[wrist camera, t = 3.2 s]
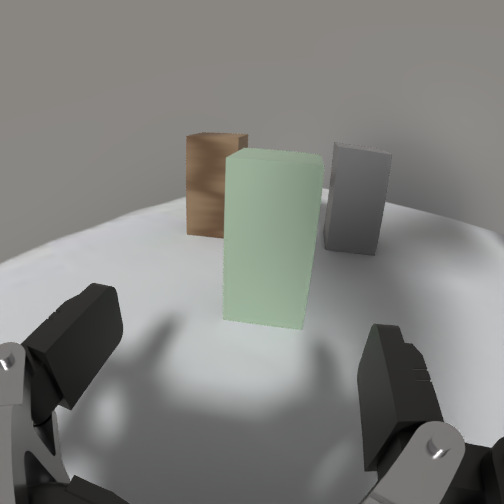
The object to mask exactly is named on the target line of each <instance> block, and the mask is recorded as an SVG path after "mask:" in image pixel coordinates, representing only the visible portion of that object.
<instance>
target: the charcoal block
mask: <svg viewBox="0 0 504 504" xmlns="http://www.w3.org/2000/svg"><path fill="white" fill-rule="evenodd" d="M391 159H392V154H390V153H387V152H385V151H383V150H381V149H377V148H371V147H365V146H358V145H351V144H343V143H337V142H334V150H333V159H332V169H331V179H330V187H329V195H328V203H327V211H326V219H325V226H324V238H325V246H326V250H333V251H341V252H350V253H358V254H367V255H375V252H376V248H377V243H378V238H379V233H380V228H381V222H382V217H383V211H384V206H385V200H386V193H387V187H388V181H389V174H390V167H391Z"/></svg>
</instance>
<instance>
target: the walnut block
mask: <svg viewBox="0 0 504 504" xmlns="http://www.w3.org/2000/svg"><path fill="white" fill-rule="evenodd" d="M247 147H248V134H230V133H198V134H193V135H189V136H187V139H186V210H187V235H197V236H206V237H215V238H224V210H225V173H226V157H228V156H230V155H232V154H234V153H235V152H237V151H239V150H241V149H243V148H247Z"/></svg>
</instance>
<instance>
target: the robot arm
mask: <svg viewBox="0 0 504 504" xmlns="http://www.w3.org/2000/svg"><path fill="white" fill-rule="evenodd" d="M122 335H123V323H122V318H121V313H120V307H119V302H118V296H117V292H116V289H115V288H114V287H112V286H107V285H102V284H97V283H92V284H90V285H89V286H88V287H87V288H86V289H85V290H84V291H82V292H81V293H80V294H79V295H77V296H75V297H73V298H71V299H69V300H67V301H65V302H64V303H63V304H62V305H61V306H60V307H59V308H58V309H57V310H56V312H53V313H52V314H51V315H50V316H49V319H46V320H45V321H44V322H43V323H42V324H41V325H40V326H39V327H38V328H37V329H36V330H35V331H34V332H33V333H32V334H31V335H30V336H29V337H28V338H27V339H26V340H25V341H24V342H23V343H22V344H18V343H14V342H9V343H4V344H1V345H0V504H129V503H128V502H126V501H125V500H123V499H122V498H120V497H119V496H117V495H116V494H115V493H113V492H111V491H109V490H106V489H104V488H102V487H99V486H97V485H95V484H93V483H90V482H88V481H86V480H84V479H82V478H80V477H78V476H76V475H74V476H73V478H72V480H71V481H70V478H69V476H68V474H67V472H66V470H65V468H64V465H63V461H62V455H61V448H60V441H59V433H58V423H57V415H56V412H55V410H54V409H55V408H56V407H57V405H60V406H63V407H65V408H67V409H69V410H72V408H73V407H74V405H75V404H76V403H77V401H78V400H79V398H80V397H81V395H82V394H83V393H84V391H85V390H86V388H87V387H88V385H89V384H90V383H91V381H92V380H93V378H94V377H95V376H96V374H97V373H98V372H99V370H100V369H101V367H102V366H103V365H104V363H105V362H106V360H107V359H108V358H109V356H110V355H111V354H112V352H113V351H114V350H115V348H116V347H117V346H118V344H119V343H120V341H121V338H122ZM430 380H431V378H430V375H429V373H428V371H427V367H426V364H425V361H424V358H423V355H422V354H421V353H420V352H419V351H418V350H417V349H416V347H415V346H414V345H413V344H410V343H404V340H403V337H402V334H401V331H400V328H399V327H398V326H393V325H380V324H373V326H372V327H371V330H370V333H369V336H368V339H367V342H366V345H365V348H364V351H363V354H362V357H361V360H360V363H359V368H358V375H357V383H358V392H359V402H360V413H361V424H362V437H363V452H364V470H365V471H377V473H378V481H377V482H376V484H375V485H374V486H373V487H372V489H371V490H370V491H369V492H368V493H367V495H366V496H365V497H364V498H363V499H362V501H361V502H360V503H359V504H504V437H502V438H501V439H499V440H498V441H497V442H496V443H495V445H494V446H493V447H492V448H489V447H484V446H478V445H473V444H468V443H465V442H464V439H463V437H462V435H461V434H460V432H459V431H458V430H457V429H456V428H454V427H453V426H451V425H450V424H447V423H445V422H444V420H443V417H442V413H441V410H440V407H439V403H438V400H437V397H436V394H435V391H434V388H433V384H432V382H430Z"/></svg>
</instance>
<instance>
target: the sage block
mask: <svg viewBox="0 0 504 504" xmlns="http://www.w3.org/2000/svg"><path fill="white" fill-rule="evenodd" d="M323 176H324V163H323V160H322V158H321V155H320V154H311V153H302V152H292V151H281V150H267V149H255V148H243V149H241V150H239V151H237V152H235V153H234V154H232V155H230V156H228V157H226V173H225V210H224V268H223V319H224V320H230V321H237V322H244V323H252V324H259V325H267V326H274V327H283V328H291V329H300V330H302V327H303V322H304V316H305V310H306V304H307V297H308V291H309V285H310V278H311V271H312V265H313V258H314V251H315V243H316V236H317V228H318V220H319V212H320V204H321V195H322V186H323Z"/></svg>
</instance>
